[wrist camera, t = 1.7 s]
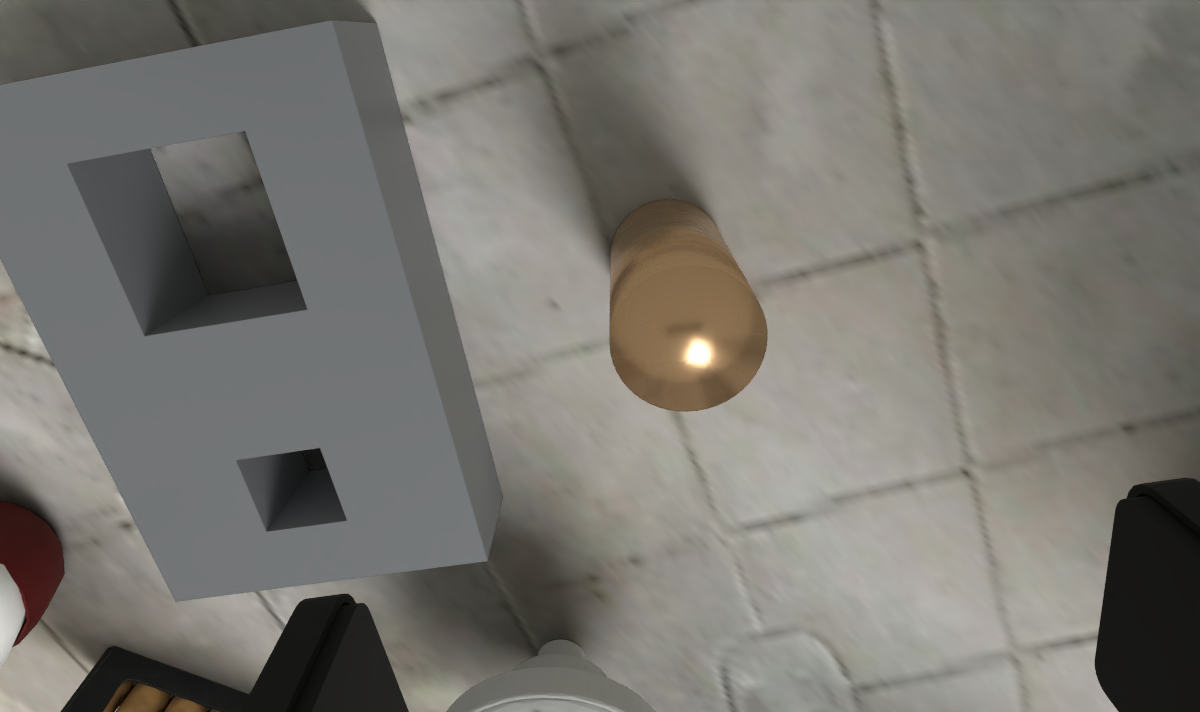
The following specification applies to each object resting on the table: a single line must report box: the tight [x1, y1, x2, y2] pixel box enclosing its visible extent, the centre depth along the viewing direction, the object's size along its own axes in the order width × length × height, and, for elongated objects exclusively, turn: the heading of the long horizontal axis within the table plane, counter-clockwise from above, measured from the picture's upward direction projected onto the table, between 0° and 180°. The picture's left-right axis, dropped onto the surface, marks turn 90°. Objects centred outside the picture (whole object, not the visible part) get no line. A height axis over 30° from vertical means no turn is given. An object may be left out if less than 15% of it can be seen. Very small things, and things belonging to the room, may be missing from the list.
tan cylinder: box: [610, 200, 767, 412], centre depth 22 cm, size 4×4×8 cm
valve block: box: [0, 20, 503, 602], centre depth 25 cm, size 12×18×4 cm, turn 10°
